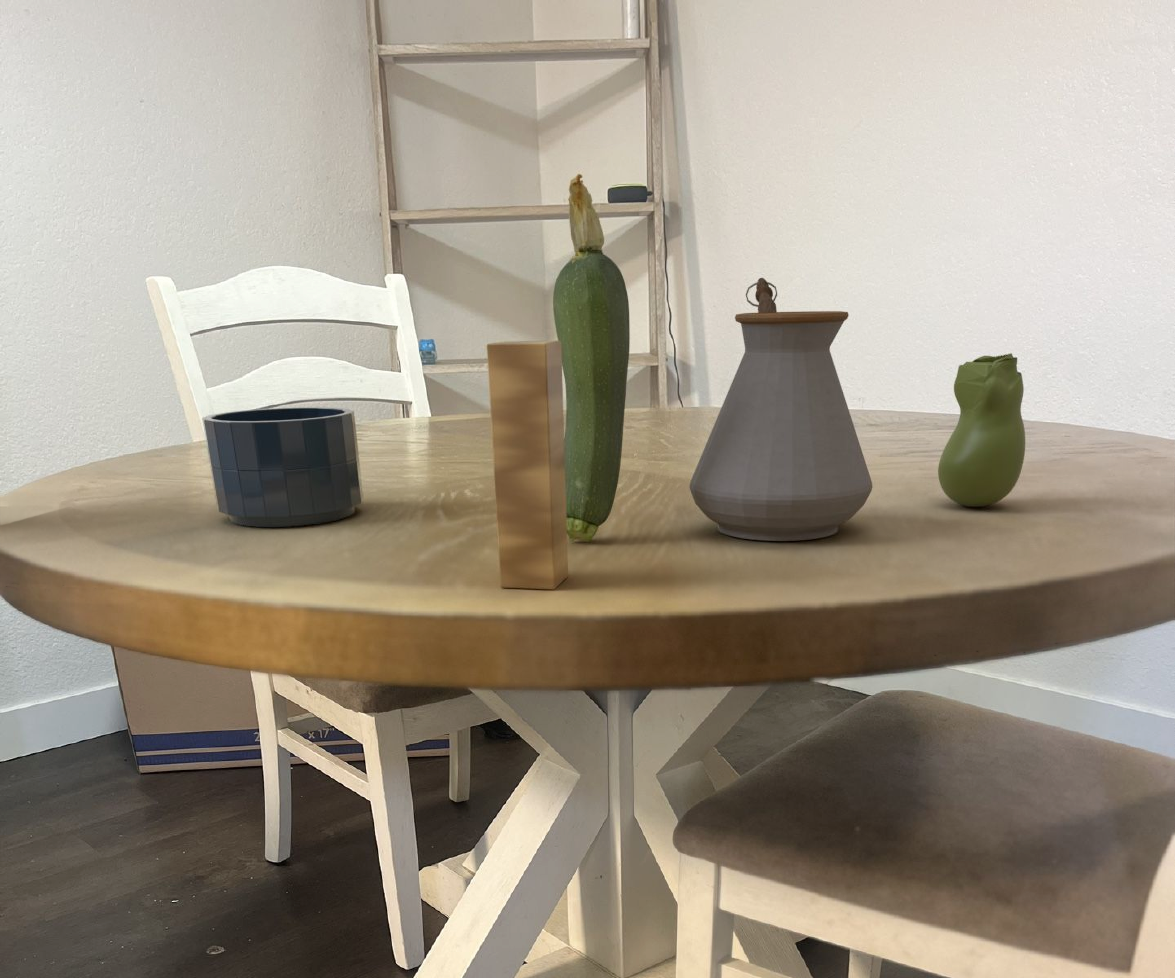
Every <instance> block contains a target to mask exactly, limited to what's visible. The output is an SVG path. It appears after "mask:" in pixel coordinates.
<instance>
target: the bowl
mask: <svg viewBox="0 0 1175 978" xmlns="http://www.w3.org/2000/svg"><path fill="white" fill-rule="evenodd" d="M201 420H202V425H203V433H204V438H205V445H206V450H207V455H208V456H207V457H208V462H209V464H210V465H209V467H210V474H211V481H212V485H213V491H214V497H215V503H216V508H217V511H219V513H221V514H225V515H228V517H229V521H230V522H231V523H232V524H234V525H238V524H239V525H238V526H243V525H244V526H243V527H250V526H253V528H292V527H291V526H294V527H304V525H306V526H312V525H311V524H314V525H321V524H326V523H331V522H336V521H340V520H343V519H346V518H349V517H351V516H353V515H354V514H355V512H356V510H355V507H356V506H358V505H361V504H362V503H363V501H364V490H363V483H362V482H363V481H362V473H361V471H362V470H361V464H360V463H361V462H360V453H359V444H358V435H357V426H356V416H355V410H351V409H349V408H344V407H343V408H341V407H323V406H322V407H321V406H318V407H317V406H316V407H315V406H313V407H312V406H310V407H309V406H307V407H305V406H303V407H302V406H300V407H299V406H297V407H295V406H294V407H274V408H273V407H272V408H259V409H258V408H256V409H255V408H254V409H245V410H243V409H242V410H233V411H227V412H226V411H225V412H219V413H215V414H207V415H206V416H203V417H202V418H201ZM245 525H246V526H245ZM254 526H255V527H254Z"/></svg>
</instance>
